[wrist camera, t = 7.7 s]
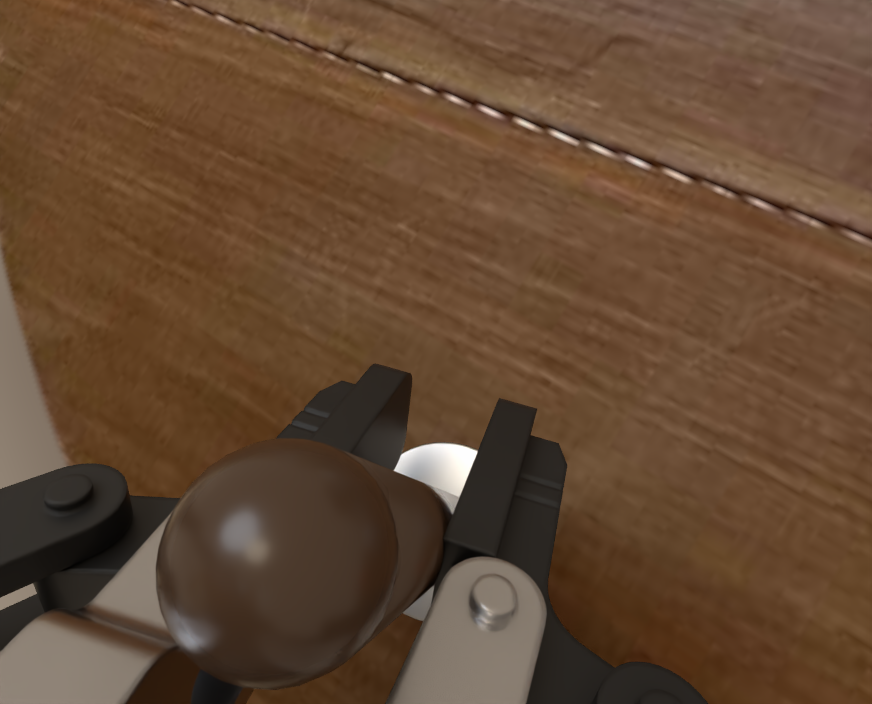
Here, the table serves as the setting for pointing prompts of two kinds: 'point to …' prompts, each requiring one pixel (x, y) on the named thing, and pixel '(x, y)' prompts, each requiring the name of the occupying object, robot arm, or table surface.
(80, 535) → the robot arm
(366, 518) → the espresso tamper
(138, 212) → the table surface
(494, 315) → the table surface
